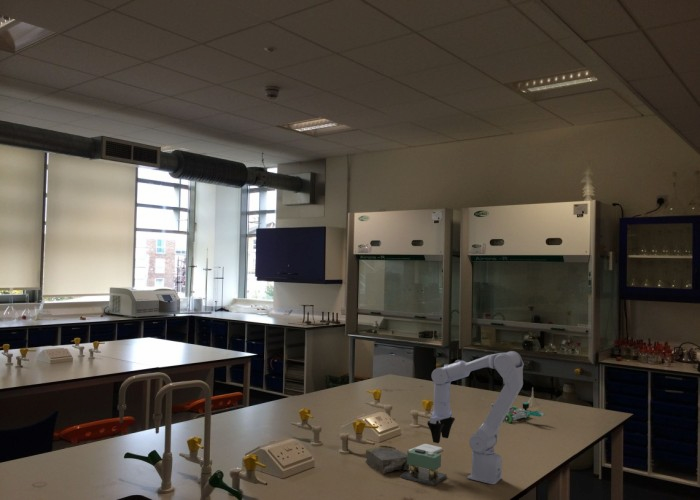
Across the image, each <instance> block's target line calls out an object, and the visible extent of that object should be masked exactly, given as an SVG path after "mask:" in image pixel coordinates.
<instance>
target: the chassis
mask: <svg viewBox="0 0 700 500" xmlns="http://www.w3.org/2000/svg"><path fill="white" fill-rule="evenodd" d="M400 478H401V479H405V480H409V481H413V482H417V483H421V484H425V485H429V486H433V487H434V486H435V485H437V484H439V483H440V482H442V481H443V480H444V479H446V478H447V473H442V472H439V468H438V469H436V470H435V471H434V470H430V469H426V468H422V467H417V466H413V465H410V466H409V470H405V471H404V472H403V473H401V474H400Z"/></svg>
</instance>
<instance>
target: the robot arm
mask: <svg viewBox="0 0 700 500" xmlns="http://www.w3.org/2000/svg"><path fill="white" fill-rule="evenodd" d="M524 363H525V362H523V359H522V356H521V355H520V354H519V352H516V351H514V350H510V351H507V352H498V353H494V354H488V355H484V356H483V357H480V358H476V359H474V360H472V361H471V360H470V361H469V362H467V361H465V360H461V359H457V360H455V361H454V362H453V363H450V364H448V363H446V364H444V365H443V366H442V367H436V368H435V369H433V371H432V372H431V380H432V382H433V411H430V413H429V415H431V417H429V420H428V421H427V426H428V429H429V430H430V434H431V438H432V442H433V443H435V444H440V441H441V437H442V438H444V439H449V436H450V433H451V429H452V426H453V424H454V422H455V420H456V419H455V417H453V410H450V409H451V383H452V382H453V381H457V380H460V379H463V378H467V377H469V376H470V373H471V372H472V371H477V370H480V369H483V368H487V367H488V368H490V369H495V370H496V371H497V373H498V374H499V375H500V376H501V377H502V380H503V383H504V385H503V388H502V389H501V391H500V393H499V394H498V396H497V398H496V400H495V402H493V403H494V405H493V407H492V409H491V408H490V409H491V410H490V411H489V412H488V414H487V416H486V418H485V420H484V422H483V423H482V424H481V425H480V427H479V428H478V429H477V430H476V432H475V433H473V434H472V435H471V436H470V437H469V440H468V441H469V442H468V444H469V447H470V448H471V474H469V475H467V476H466V479H469V480H472V481H473V480H474V481H477V482H481V483H485V484H489V485H494V486H495V485H496V484H497V483H499V482H500V480H502V479H503V476H502V469H503V467H502V466H503V465H502V461H503V460H502V455H500V454H498V453H496V452H495V449H494V448H495V446H496V445H497V444H498V436H499V434H500V428H501V426H502V424H503V422H504V418H505V417H506V415H507V413H508V411H509V409H510V408H511V407H513V404H514V402H515V400H516V399H517V396H518V395H519V393H520V391H521V389H522V388H523V385H524V380H523V379H524V375H523V374H524V373H523V372H524V371H523V370H524V365H525V364H524Z"/></svg>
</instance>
